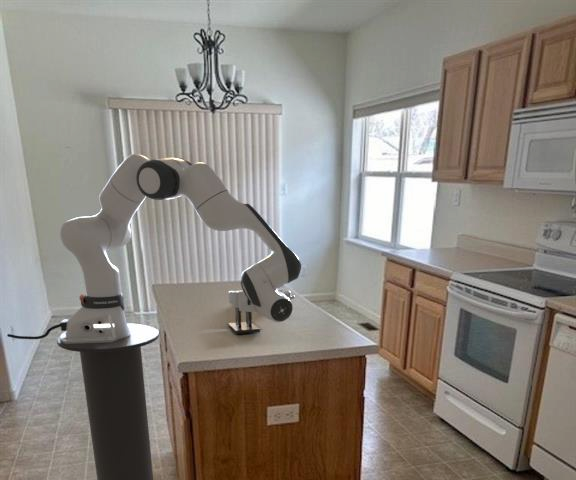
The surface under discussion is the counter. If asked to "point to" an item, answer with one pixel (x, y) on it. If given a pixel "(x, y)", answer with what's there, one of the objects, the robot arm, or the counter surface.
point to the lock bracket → (243, 323)
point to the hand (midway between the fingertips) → (253, 292)
